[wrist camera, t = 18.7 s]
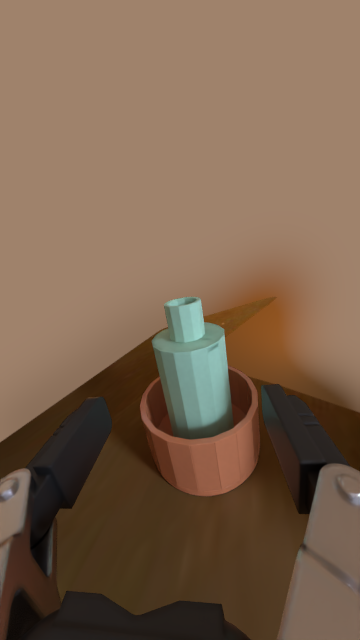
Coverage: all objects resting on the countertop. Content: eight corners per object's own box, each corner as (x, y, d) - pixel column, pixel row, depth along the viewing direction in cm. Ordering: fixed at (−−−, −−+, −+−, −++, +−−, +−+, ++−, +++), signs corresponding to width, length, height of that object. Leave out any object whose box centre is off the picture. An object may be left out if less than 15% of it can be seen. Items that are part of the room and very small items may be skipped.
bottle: (200, 477, 16) (170, 318, 12) (163, 431, 21) (132, 307, 17) (247, 433, 19) (237, 294, 15) (205, 401, 24) (188, 291, 20)
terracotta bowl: (197, 535, 13) (185, 480, 12) (135, 433, 22) (123, 393, 20) (284, 437, 19) (283, 390, 17) (206, 387, 28) (201, 353, 26)
